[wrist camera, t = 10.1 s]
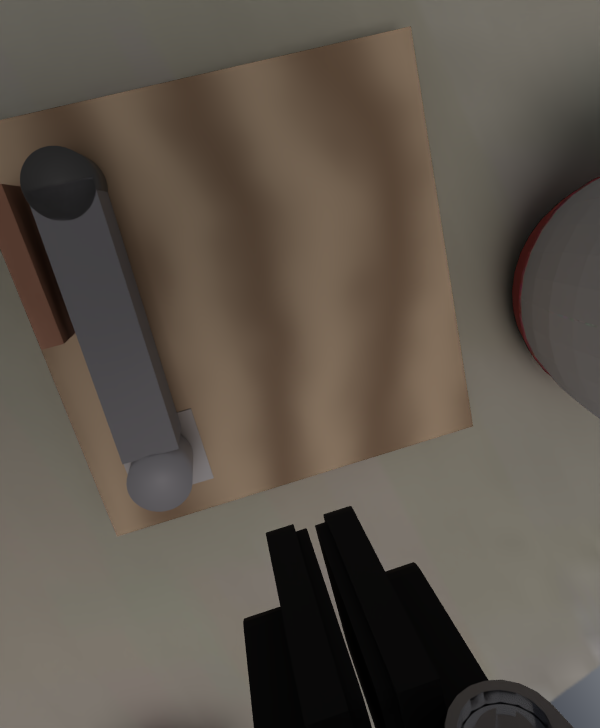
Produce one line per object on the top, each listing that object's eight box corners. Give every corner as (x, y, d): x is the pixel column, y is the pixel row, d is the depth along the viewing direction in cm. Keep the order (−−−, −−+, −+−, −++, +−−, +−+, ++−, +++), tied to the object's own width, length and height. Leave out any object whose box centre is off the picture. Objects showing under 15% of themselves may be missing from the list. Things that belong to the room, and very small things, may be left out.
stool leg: (200, 474, 30) (199, 501, 28) (143, 490, 30) (137, 519, 27) (97, 146, 25) (85, 138, 22) (28, 161, 25) (6, 154, 22)
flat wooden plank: (121, 517, 33) (107, 575, 28) (-30, 136, 26) (-88, 117, 21) (458, 414, 35) (503, 450, 30) (396, 38, 28) (440, -1, 23)
